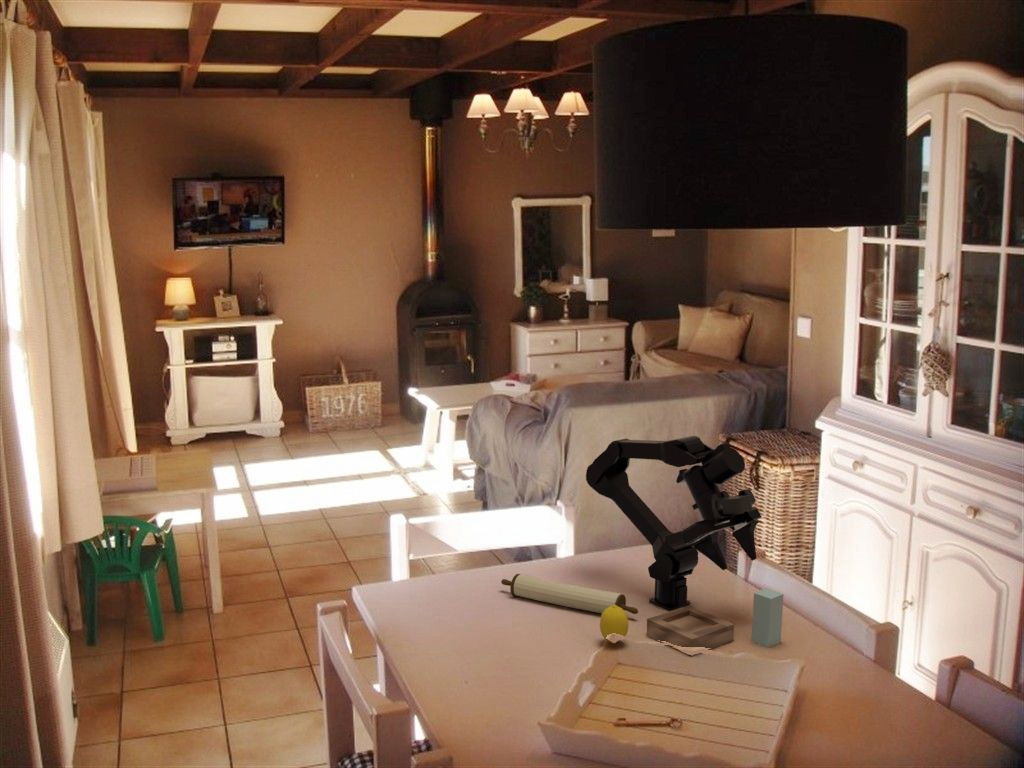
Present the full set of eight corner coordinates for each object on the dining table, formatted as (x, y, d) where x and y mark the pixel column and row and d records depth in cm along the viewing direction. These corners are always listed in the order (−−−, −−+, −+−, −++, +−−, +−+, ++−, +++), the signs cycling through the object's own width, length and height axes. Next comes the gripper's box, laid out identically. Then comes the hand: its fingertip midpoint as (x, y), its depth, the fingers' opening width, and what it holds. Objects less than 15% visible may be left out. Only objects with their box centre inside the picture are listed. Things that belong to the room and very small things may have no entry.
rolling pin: (495, 596, 226) (495, 574, 226) (507, 588, 231) (507, 566, 230) (632, 626, 211) (633, 603, 210) (642, 616, 216) (643, 594, 215)
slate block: (751, 641, 204) (753, 592, 203) (763, 635, 207) (766, 588, 205) (768, 647, 201) (770, 599, 200) (780, 642, 204) (783, 594, 202)
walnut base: (646, 635, 206) (647, 618, 206) (688, 621, 214) (688, 605, 213) (691, 656, 197) (692, 639, 196) (733, 640, 204) (734, 624, 204)
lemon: (626, 651, 199) (627, 611, 198) (597, 648, 200) (598, 609, 199) (629, 639, 204) (630, 601, 203) (601, 636, 205) (602, 598, 204)
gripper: (701, 484, 200) (737, 559, 195) (762, 470, 212) (796, 540, 207) (666, 507, 208) (699, 579, 203) (725, 492, 220) (758, 560, 215)
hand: (740, 564), depth 207 cm, fingers open, 9 cm apart
